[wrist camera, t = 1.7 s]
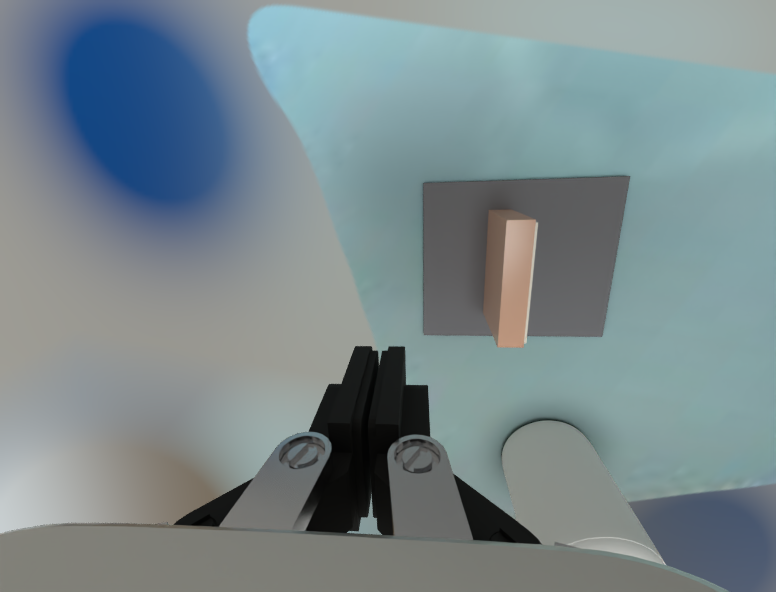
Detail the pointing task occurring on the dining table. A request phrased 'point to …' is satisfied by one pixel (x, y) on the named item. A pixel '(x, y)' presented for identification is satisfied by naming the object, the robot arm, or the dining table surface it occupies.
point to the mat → (552, 255)
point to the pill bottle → (570, 492)
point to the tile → (509, 275)
